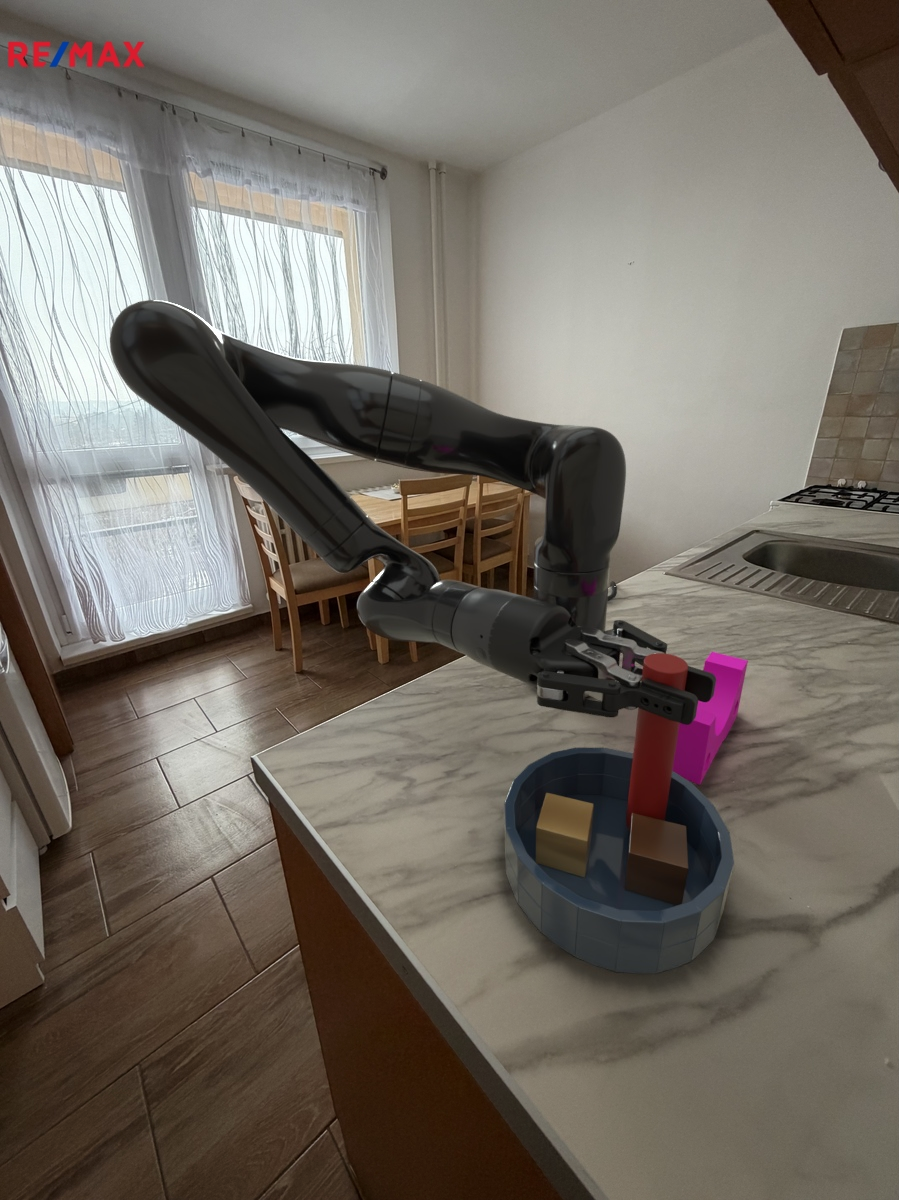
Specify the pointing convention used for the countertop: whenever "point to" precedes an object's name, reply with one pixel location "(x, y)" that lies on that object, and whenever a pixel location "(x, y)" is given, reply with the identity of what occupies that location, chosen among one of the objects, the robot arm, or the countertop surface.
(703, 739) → the toy block
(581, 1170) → the countertop surface
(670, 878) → the walnut cube
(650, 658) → the stirring stick
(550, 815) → the birch cube
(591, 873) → the bowl
